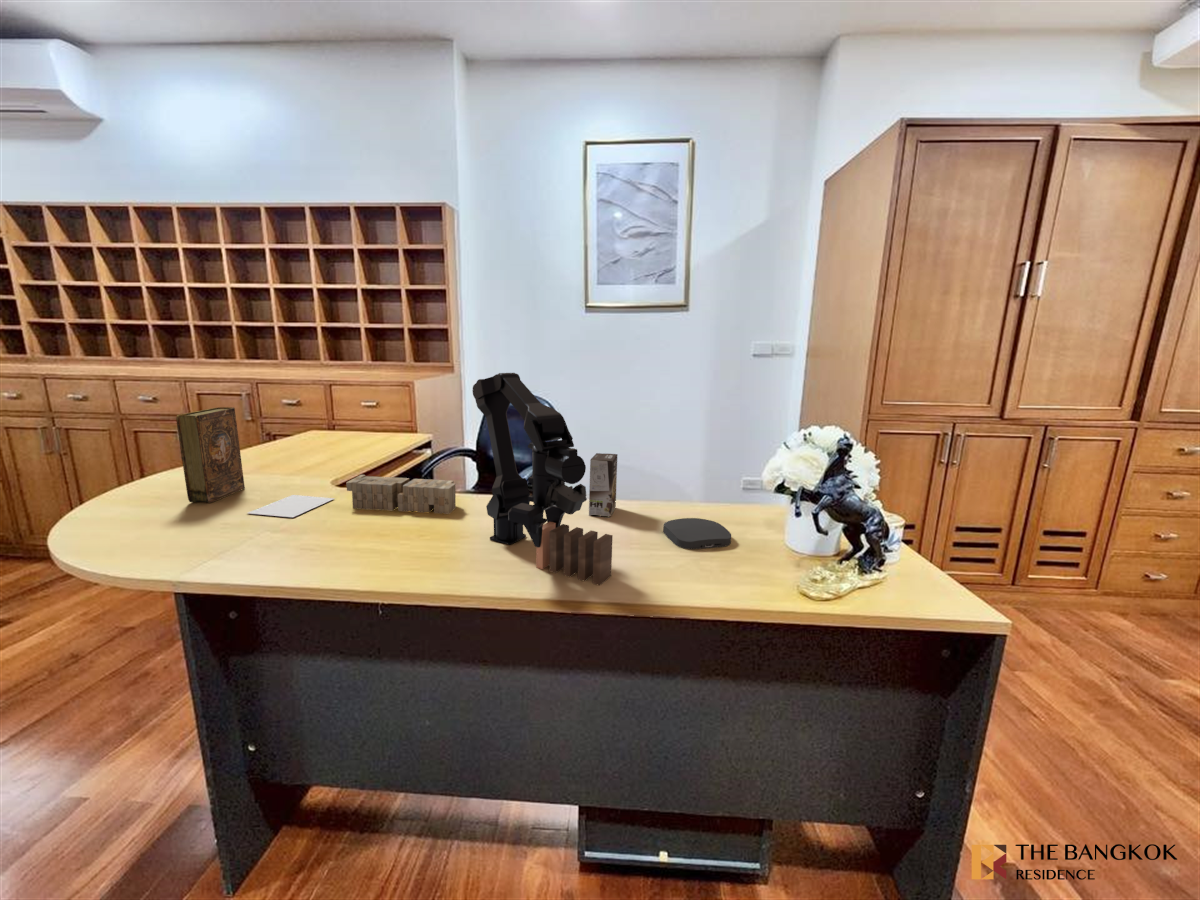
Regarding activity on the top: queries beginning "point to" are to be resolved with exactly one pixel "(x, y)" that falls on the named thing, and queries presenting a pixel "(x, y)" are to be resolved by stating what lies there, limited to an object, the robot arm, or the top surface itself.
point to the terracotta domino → (544, 546)
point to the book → (210, 453)
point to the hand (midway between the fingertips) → (545, 542)
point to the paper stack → (291, 506)
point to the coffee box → (602, 484)
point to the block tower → (402, 494)
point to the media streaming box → (697, 533)
